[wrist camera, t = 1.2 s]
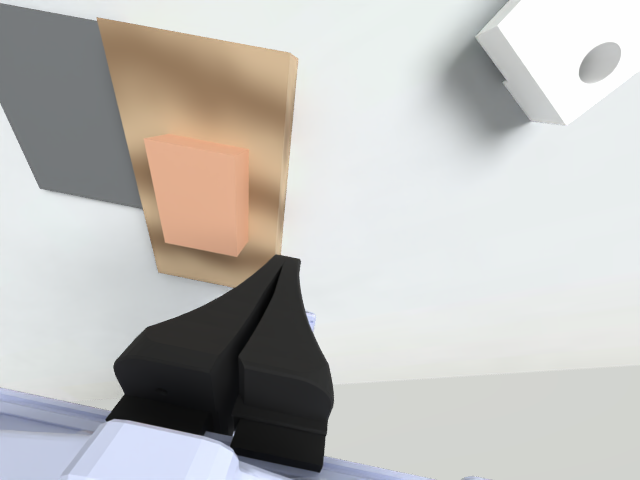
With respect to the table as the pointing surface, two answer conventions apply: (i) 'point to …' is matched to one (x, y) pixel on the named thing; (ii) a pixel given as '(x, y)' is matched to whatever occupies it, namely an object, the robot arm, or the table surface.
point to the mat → (64, 105)
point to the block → (200, 192)
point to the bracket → (563, 53)
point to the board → (206, 129)
